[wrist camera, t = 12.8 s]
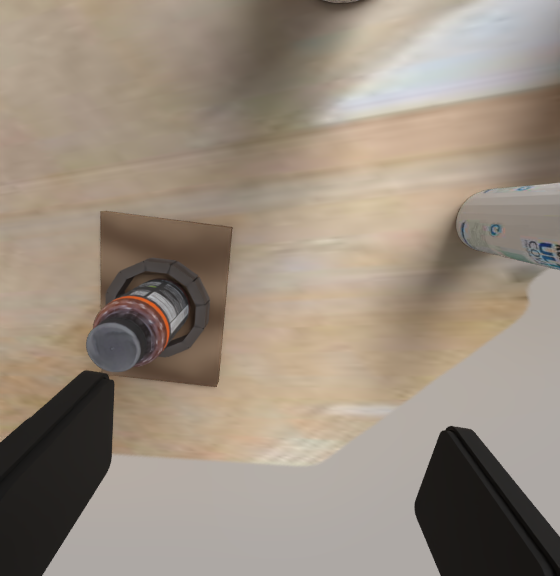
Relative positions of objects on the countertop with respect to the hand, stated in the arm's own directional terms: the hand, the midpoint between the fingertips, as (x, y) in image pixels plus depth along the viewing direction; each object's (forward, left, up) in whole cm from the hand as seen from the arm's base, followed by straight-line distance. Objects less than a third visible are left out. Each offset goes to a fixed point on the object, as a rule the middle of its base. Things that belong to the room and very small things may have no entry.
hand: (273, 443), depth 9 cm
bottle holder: (+5, -12, -27) cm, 30 cm away
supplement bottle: (+5, -12, -26) cm, 29 cm away
